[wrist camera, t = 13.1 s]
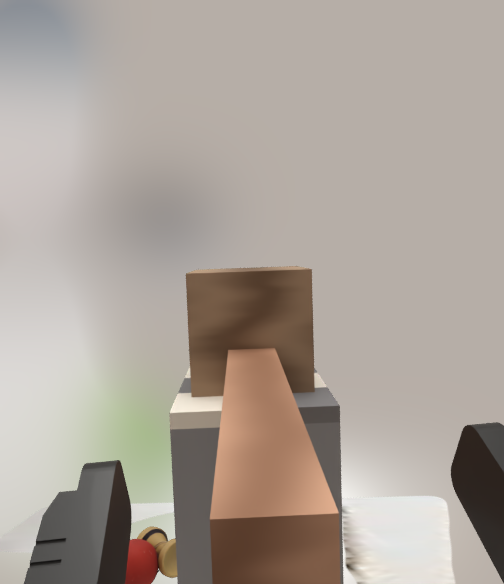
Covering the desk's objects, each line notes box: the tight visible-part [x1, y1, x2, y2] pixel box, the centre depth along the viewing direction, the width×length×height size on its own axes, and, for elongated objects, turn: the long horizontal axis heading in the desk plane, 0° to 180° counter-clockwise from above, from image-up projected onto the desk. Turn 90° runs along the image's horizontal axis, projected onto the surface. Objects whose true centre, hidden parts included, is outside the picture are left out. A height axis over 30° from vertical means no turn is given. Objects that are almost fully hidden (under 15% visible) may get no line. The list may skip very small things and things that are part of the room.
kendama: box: [125, 527, 177, 584], centre depth 66 cm, size 8×6×18 cm
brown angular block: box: [186, 266, 340, 584], centre depth 25 cm, size 8×28×8 cm, turn 2°
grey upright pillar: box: [170, 367, 343, 584], centre depth 40 cm, size 10×20×32 cm, turn 2°
